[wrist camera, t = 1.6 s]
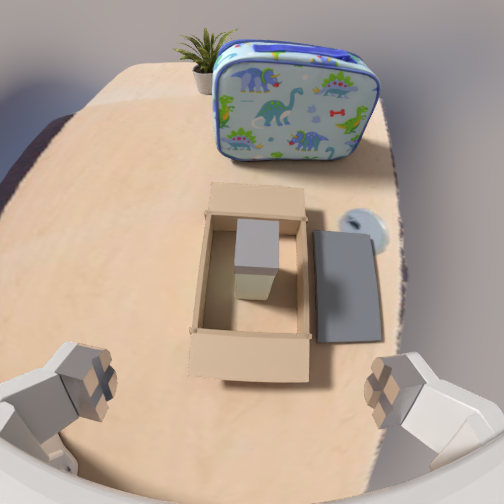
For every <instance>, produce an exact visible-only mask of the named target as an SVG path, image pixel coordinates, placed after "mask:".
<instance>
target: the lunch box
mask: <svg viewBox="0 0 504 504" xmlns="http://www.w3.org/2000/svg"><path fill="white" fill-rule="evenodd" d="M380 91H381V85H380V81H379V79H378V78H377V76H376V75H375V74H374V73H373V72H372V71H371V70H370V69H369V68H368V67H367V66H366V65H365V64H364V62H363V60H362V59H361V58H360V57H358V56H357V55H356V54H353V53H350V52H347V51H344V50H338V49H333V48H326V47H321V46H314V45H308V44H301V43H292V42H283V41H272V40H249V39H248V40H247V39H245V40H233V41H230V42H228V43H226V44H225V45H223V46H222V47H221V48H220V50H219V53H218V56H217V60H216V62H215V65H214V68H213V83H212V107H213V124H214V133H215V140H216V146H217V149H218V151H219V152H220V153H221V154H222V155H224V156H226V157H228V158H230V159H234V160H239V161H255V160H278V159H292V160H301V159H311V160H335V159H341V158H344V157H347V156H348V155H350V154H351V153H353V151H354V150H355V149H356V147H357V146H358V144H359V142H360V140H361V138H362V135H363V133H364V131H365V128H366V126H367V124H368V122H369V119H370V117H371V115H372V113H373V111H374V109H375V106H376V104H377V102H378V99H379V96H380Z"/></svg>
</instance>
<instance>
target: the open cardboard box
mask: <svg viewBox="0 0 504 504" xmlns="http://www.w3.org/2000/svg"><path fill="white" fill-rule="evenodd" d="M205 219H206V223H205V230H204V236H203V243H202V250H201V258H200V265H199V273H198V281H197V289H196V297H195V306H194V315H193V324H192V327H190V328H189V333H190V334H191V345H190V356H189V367H188V376H190V377H199V378H208V379H220V380H233V381H251V382H309V340H311V339H312V334H309V282H308V255H307V235H306V224H307V222H308V217H305V203H304V189H303V188H292V187H280V186H267V185H252V184H235V183H212V186H211V192H210V198H209V204H208V210H207V211H205ZM238 219H253V220H269V221H279V234H285V235H296V249H297V334H292V333H262V332H243V331H227V330H214V329H202V328H203V317H204V307H205V298H206V288H207V279H208V270H209V262H210V254H211V246H212V238H213V230H221V231H237V223H238Z"/></svg>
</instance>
